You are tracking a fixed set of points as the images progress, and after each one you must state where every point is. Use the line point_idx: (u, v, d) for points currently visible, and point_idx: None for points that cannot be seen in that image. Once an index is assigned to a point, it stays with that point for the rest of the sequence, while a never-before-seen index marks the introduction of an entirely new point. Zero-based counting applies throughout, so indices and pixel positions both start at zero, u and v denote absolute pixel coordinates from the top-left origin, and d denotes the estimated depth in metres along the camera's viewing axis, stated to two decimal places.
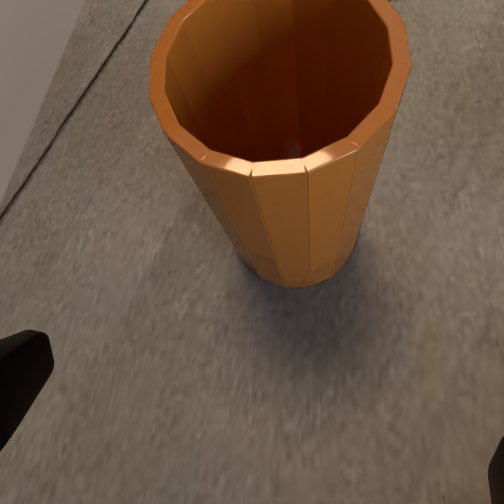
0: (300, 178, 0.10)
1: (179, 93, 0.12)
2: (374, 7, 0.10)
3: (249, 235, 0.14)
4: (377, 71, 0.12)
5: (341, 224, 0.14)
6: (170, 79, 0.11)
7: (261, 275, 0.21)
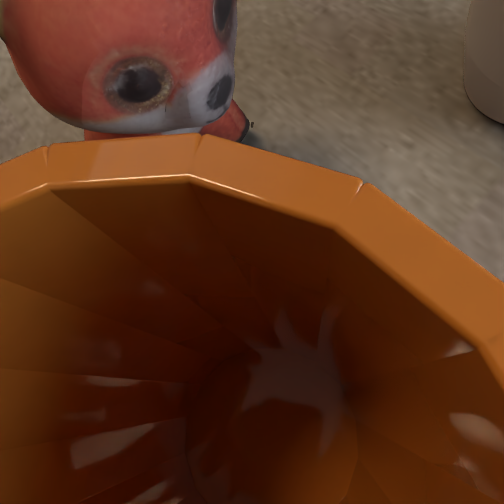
0: None
1: None
2: None
3: None
4: (484, 496, 0.04)
5: None
6: None
7: None
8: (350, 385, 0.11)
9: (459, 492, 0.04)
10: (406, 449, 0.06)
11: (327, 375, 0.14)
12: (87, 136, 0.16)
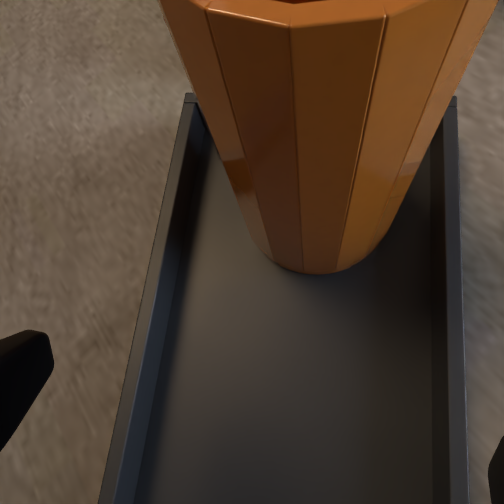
0: (372, 33, 0.06)
1: None
2: None
3: (268, 181, 0.10)
4: None
5: (398, 166, 0.10)
6: None
7: (275, 256, 0.17)
8: None
9: None
10: None
11: None
12: None
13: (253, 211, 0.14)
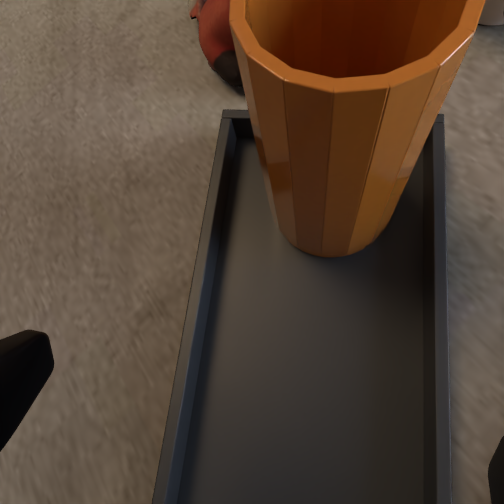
0: (380, 95, 0.10)
1: (251, 29, 0.13)
2: None
3: (304, 181, 0.15)
4: (443, 13, 0.12)
5: (396, 171, 0.14)
6: (247, 11, 0.12)
7: (298, 242, 0.21)
8: None
9: (437, 34, 0.13)
10: None
11: None
12: (206, 25, 0.25)
13: (286, 204, 0.18)
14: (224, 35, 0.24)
